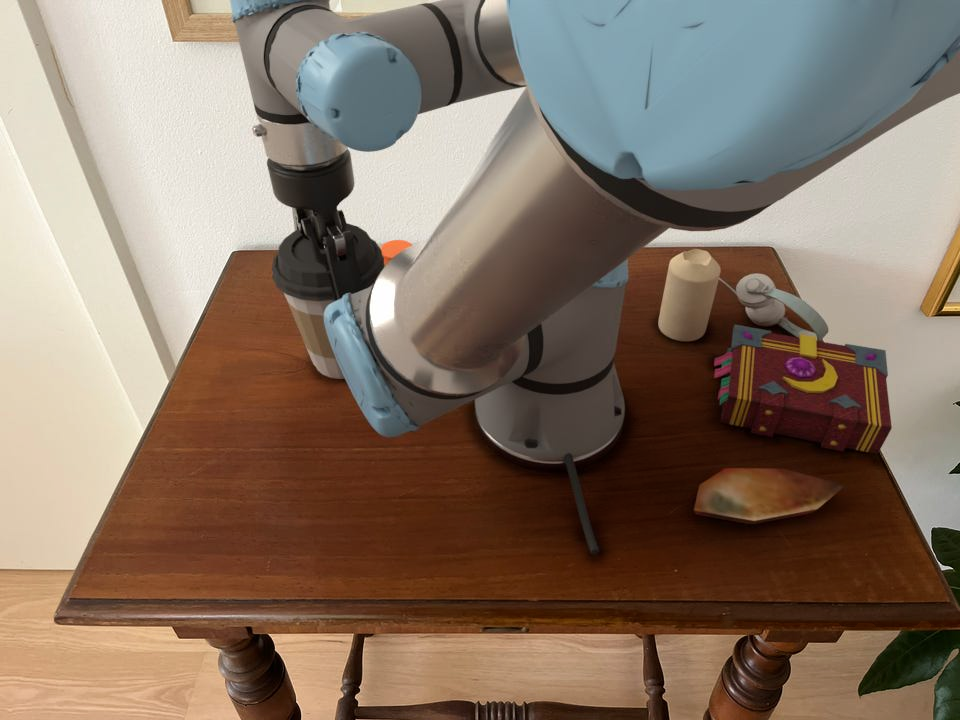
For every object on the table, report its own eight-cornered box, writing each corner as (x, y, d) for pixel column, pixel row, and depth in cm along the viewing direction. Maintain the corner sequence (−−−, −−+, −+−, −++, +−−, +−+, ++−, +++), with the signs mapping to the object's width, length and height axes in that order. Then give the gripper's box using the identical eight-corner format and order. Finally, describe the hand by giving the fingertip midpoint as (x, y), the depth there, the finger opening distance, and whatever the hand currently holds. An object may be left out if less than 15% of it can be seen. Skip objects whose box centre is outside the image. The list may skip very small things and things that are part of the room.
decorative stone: (864, 517, 62) (853, 542, 63) (842, 473, 66) (832, 498, 68) (697, 502, 62) (691, 527, 64) (687, 460, 67) (682, 484, 69)
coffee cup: (401, 326, 86) (388, 215, 76) (389, 393, 78) (373, 279, 68) (306, 325, 86) (281, 215, 76) (284, 392, 78) (253, 278, 68)
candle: (693, 348, 82) (710, 276, 76) (649, 330, 85) (662, 258, 78) (713, 323, 86) (731, 252, 79) (670, 306, 88) (685, 236, 81)
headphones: (709, 270, 95) (842, 336, 80) (689, 293, 95) (819, 363, 80) (687, 232, 89) (826, 296, 75) (665, 256, 89) (801, 325, 75)
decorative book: (878, 460, 70) (896, 426, 66) (706, 425, 74) (715, 391, 70) (870, 380, 78) (887, 345, 74) (715, 352, 82) (724, 318, 78)
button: (415, 253, 91) (413, 239, 90) (413, 271, 88) (412, 257, 87) (383, 253, 91) (381, 239, 90) (380, 272, 88) (378, 258, 87)
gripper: (238, 112, 72) (281, 289, 87) (303, 224, 56) (342, 417, 71) (311, 98, 74) (341, 272, 89) (393, 202, 59) (413, 393, 73)
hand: (342, 337), depth 80 cm, fingers closed on coffee cup, 11 cm apart
